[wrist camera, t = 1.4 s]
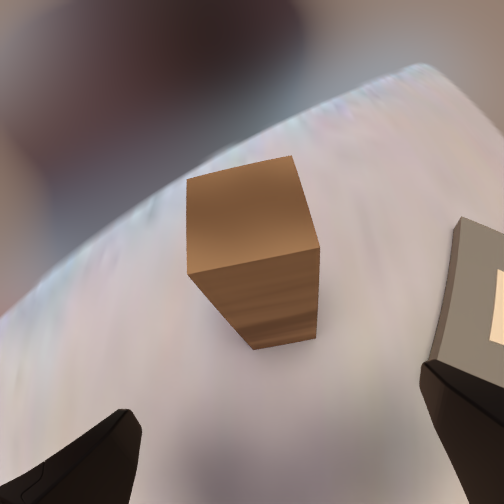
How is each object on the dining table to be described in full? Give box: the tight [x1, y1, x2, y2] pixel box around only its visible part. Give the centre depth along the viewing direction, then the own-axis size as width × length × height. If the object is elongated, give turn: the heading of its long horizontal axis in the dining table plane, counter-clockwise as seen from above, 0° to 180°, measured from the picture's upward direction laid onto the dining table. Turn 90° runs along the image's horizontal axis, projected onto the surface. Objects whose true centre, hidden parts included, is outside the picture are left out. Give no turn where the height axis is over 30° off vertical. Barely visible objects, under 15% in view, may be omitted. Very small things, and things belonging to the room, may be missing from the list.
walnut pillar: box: [186, 155, 320, 350], centre depth 17 cm, size 5×5×13 cm
